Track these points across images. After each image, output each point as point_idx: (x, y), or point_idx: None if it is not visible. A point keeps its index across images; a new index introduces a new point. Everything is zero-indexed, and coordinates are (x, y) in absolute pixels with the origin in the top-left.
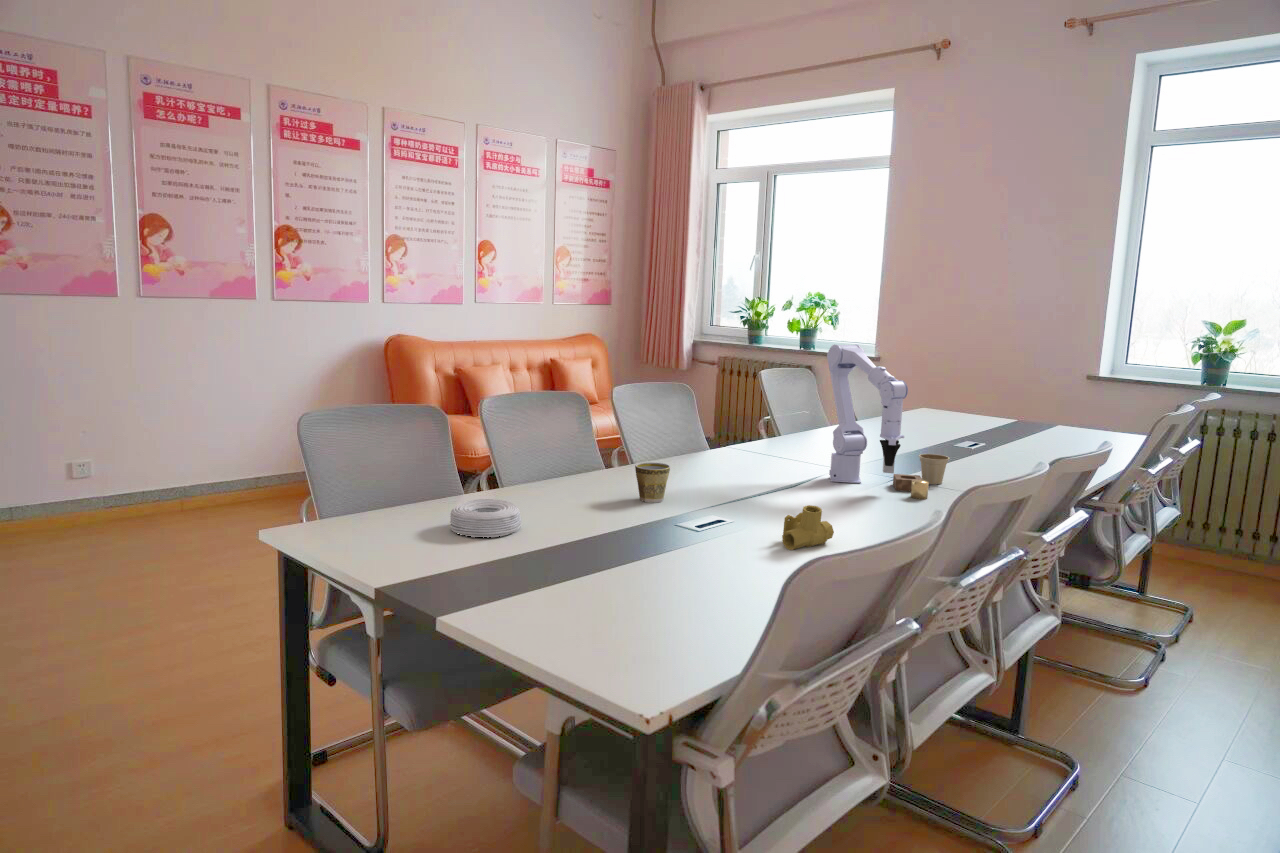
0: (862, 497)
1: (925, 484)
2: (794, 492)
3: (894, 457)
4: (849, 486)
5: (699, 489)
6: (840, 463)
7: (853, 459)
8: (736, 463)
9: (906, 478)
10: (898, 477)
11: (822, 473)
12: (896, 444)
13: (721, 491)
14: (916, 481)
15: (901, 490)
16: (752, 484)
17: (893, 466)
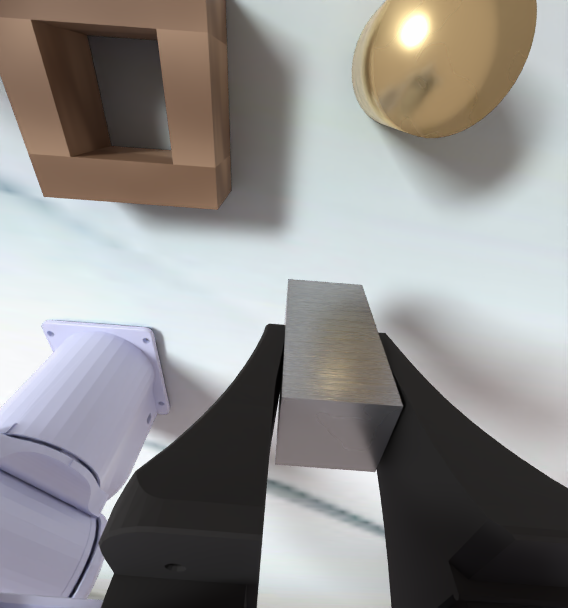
0: (406, 352)
1: (529, 5)
2: (349, 487)
3: (433, 389)
4: (219, 367)
5: (344, 579)
6: (122, 456)
7: (99, 445)
8: None
9: (68, 100)
10: (151, 183)
11: None
12: (545, 572)
13: (357, 563)
14: (450, 96)
15: (229, 154)
16: (277, 532)
17: (370, 320)
